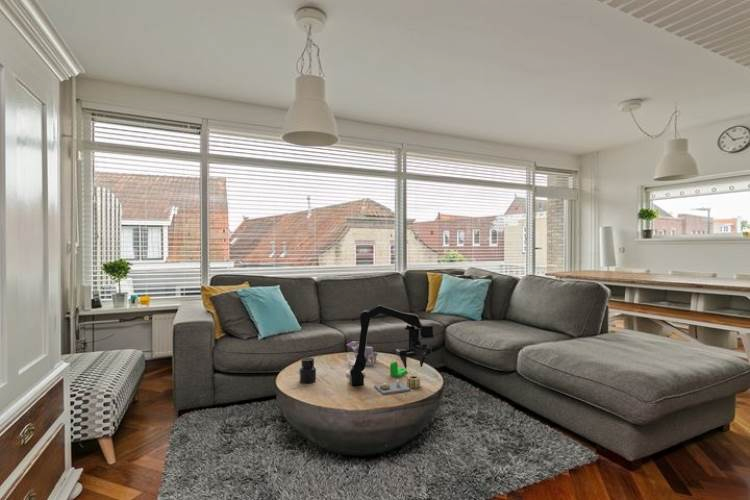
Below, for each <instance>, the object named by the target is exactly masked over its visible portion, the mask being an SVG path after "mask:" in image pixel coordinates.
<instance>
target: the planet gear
mask: <svg viewBox="0 0 750 500" xmlns="http://www.w3.org/2000/svg"><path fill="white" fill-rule="evenodd" d="M406 386H407V387H408V388H410V389H418V388H420V387H421V377H420V376H417V375H408V376H407V377H406Z"/></svg>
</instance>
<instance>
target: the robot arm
mask: <svg viewBox="0 0 750 500" xmlns="http://www.w3.org/2000/svg"><path fill="white" fill-rule="evenodd" d="M379 314H383V315H386V316H389V317H392V318H395V319H398V320H399V321H400V320H401V321H402V322H404V323H406V326H404V331H405V330H407V338H406V341H407V344H408V345H407V347H406V349H404V348H396V349H395V353H394V355H396V356H397V357H399V358H400V360H401V363H402V364H403V368H405V369H407V359H408V354H409V355H410V354H414V355H415V356H419V366H420V367H421V368H422V367H423V365H424V362H425V359H426V358H427V357H428V356H429V355H430V354H432V348H431V347H429V346H428V345H427V344H422V343H421V340H420V337H421V338H422V339H434V329H433V327H434V325H433V324H432V325H431V324H430V325H425V324H423V323H422V322H421V321H420V318H419V316H418V314H417V313H413V312H406V311H405V312H404V311H400V310H397V309H394V308H391V307H388V306H385V305H382V304H378V305H377V306H375V307H372V308H371V309H364V310H363V311H362V312H361V314H360V315H359V319H360V320H359V321H360V335H359V349H358V355H357V358H355V361H354V365H352V367H351V368H350V371H349V379H350V380H349V382H348V384H350V386H351V387H352V388H353V387H355V388H356V387H363V386H365V383H364V382H365V379H364V378H365V376H364V373H363V372H364V370H366V368H367V366H368V363H369V362H368V361H367V359H368V357H366V355H365V351H366V346H367V343H368V333H369V327H370V323H371V321H372V319H373V318H374V317H375V316H378V315H379Z"/></svg>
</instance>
